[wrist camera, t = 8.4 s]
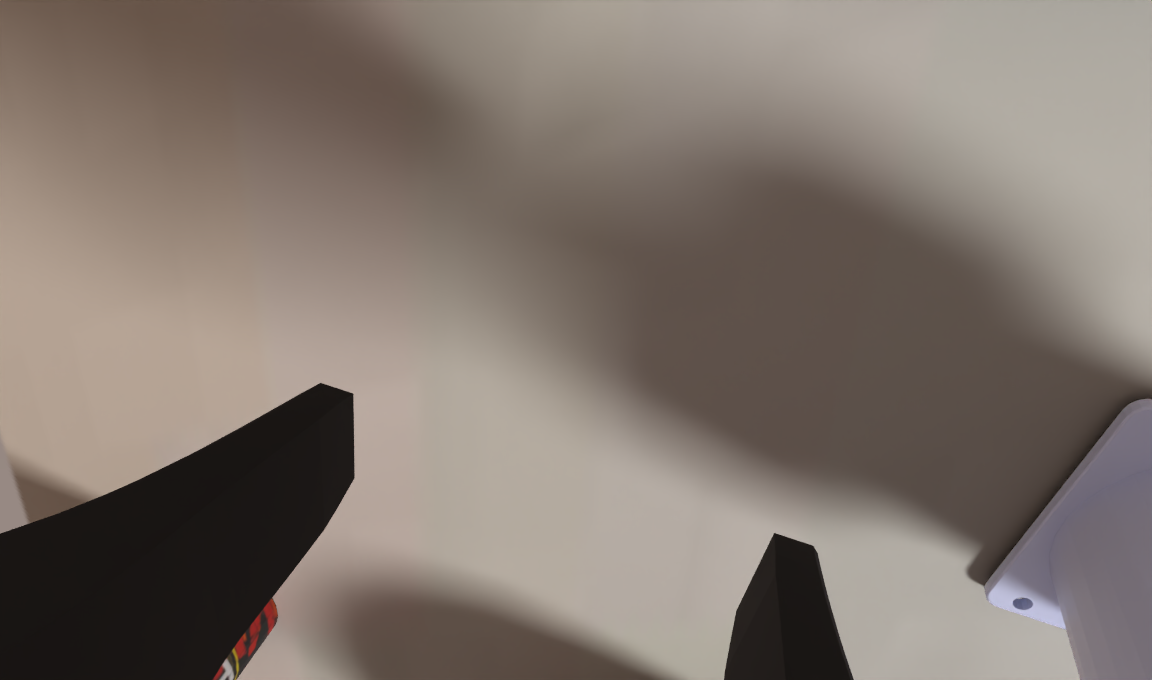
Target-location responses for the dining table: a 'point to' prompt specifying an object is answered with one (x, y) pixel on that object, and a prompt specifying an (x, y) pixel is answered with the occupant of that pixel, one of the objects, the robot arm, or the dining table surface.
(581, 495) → the dining table surface
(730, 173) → the dining table surface
